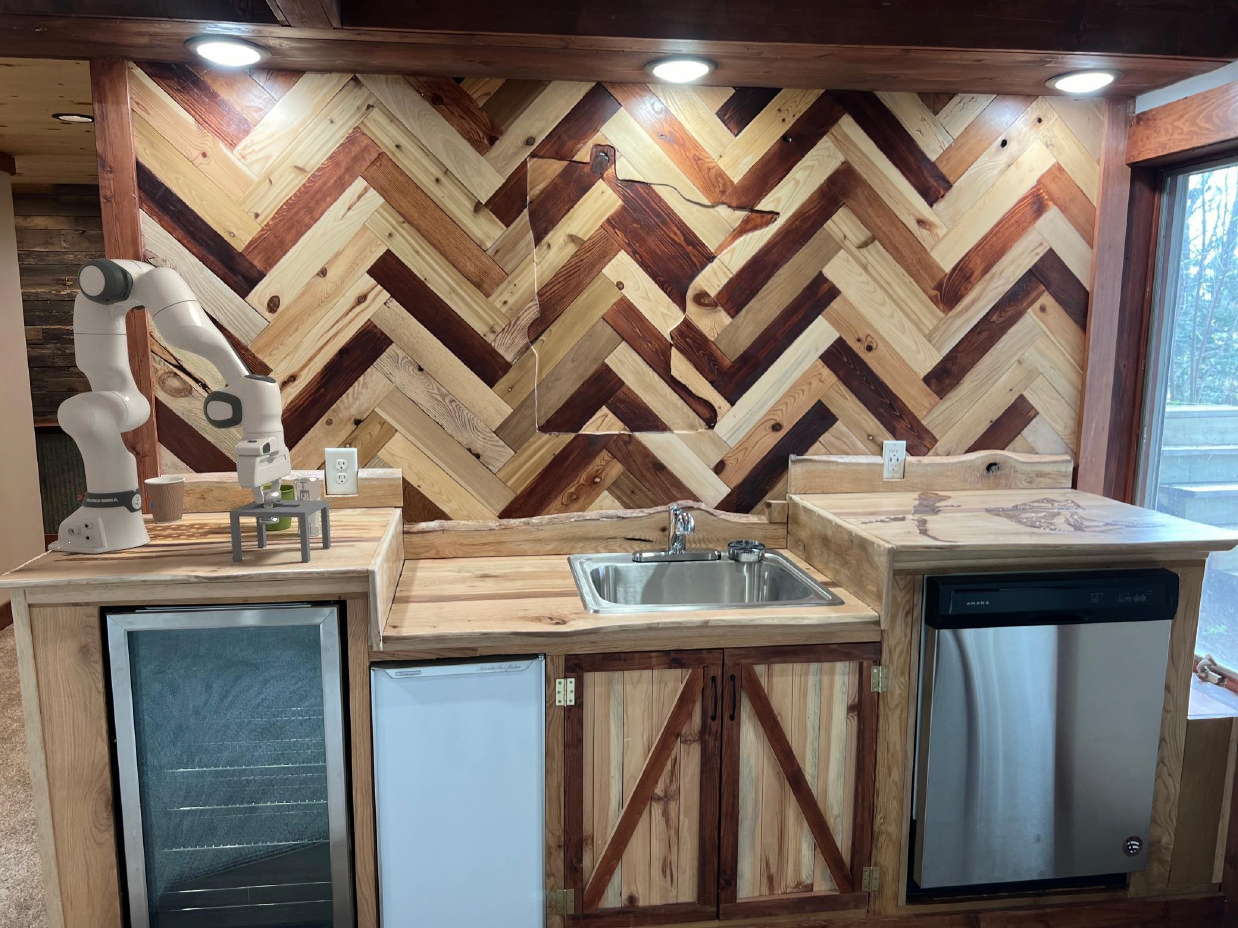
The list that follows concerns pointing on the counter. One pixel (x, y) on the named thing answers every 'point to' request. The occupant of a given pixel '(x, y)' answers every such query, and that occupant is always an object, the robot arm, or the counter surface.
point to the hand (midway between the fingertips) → (268, 500)
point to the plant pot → (285, 495)
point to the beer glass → (308, 491)
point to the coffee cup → (166, 498)
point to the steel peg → (270, 505)
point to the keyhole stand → (281, 510)
